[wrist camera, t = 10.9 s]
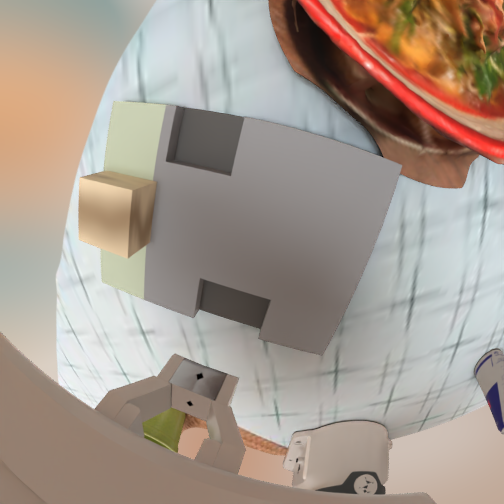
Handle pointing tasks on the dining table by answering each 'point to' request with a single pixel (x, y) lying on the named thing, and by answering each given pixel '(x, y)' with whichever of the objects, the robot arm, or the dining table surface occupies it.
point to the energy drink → (493, 383)
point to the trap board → (248, 219)
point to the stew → (407, 75)
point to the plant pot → (165, 428)
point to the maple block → (116, 212)
